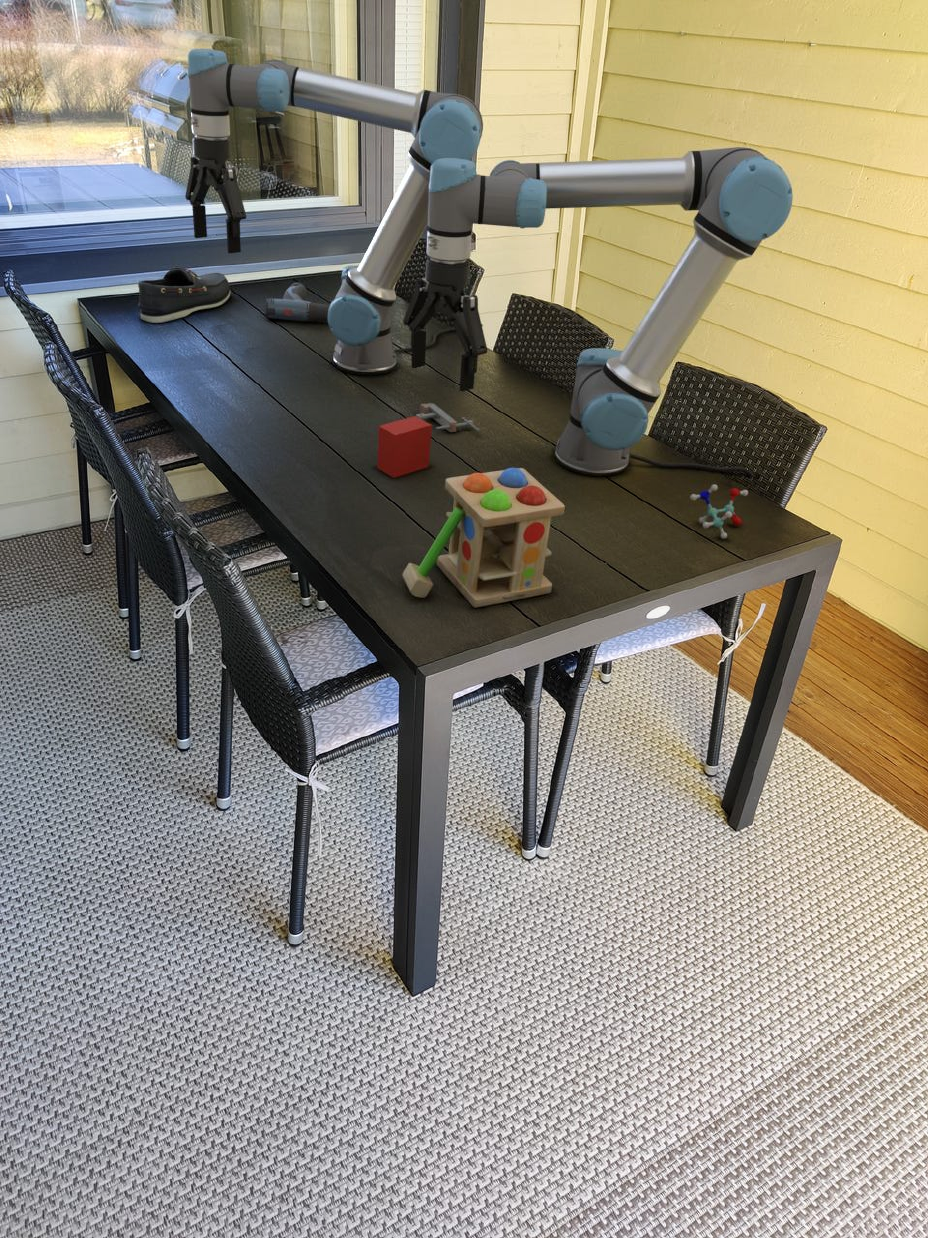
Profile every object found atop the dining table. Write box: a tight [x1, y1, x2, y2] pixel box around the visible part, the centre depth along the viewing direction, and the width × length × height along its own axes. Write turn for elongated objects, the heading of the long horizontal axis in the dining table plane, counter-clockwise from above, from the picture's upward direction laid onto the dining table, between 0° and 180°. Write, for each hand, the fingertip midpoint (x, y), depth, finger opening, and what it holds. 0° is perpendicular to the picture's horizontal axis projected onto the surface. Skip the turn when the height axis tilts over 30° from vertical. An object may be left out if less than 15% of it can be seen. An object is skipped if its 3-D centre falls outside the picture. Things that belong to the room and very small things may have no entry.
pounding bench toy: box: [401, 467, 566, 608], centre depth 155 cm, size 23×14×18 cm, turn 116°
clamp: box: [415, 402, 482, 434], centre depth 211 cm, size 15×2×10 cm
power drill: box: [264, 282, 330, 322], centre depth 265 cm, size 5×19×20 cm
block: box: [376, 415, 433, 479], centre depth 191 cm, size 5×9×9 cm, turn 133°
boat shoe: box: [137, 266, 232, 324], centre depth 260 cm, size 13×33×10 cm, turn 147°
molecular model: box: [689, 483, 749, 540], centre depth 181 cm, size 12×10×10 cm
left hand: (217, 244), depth 212 cm, fingers open, 13 cm apart
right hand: (441, 377), depth 180 cm, fingers open, 13 cm apart
